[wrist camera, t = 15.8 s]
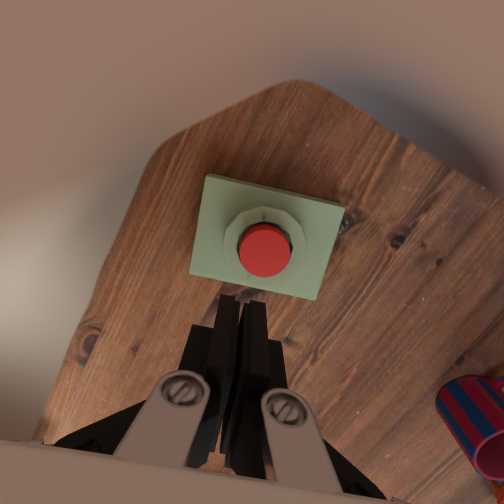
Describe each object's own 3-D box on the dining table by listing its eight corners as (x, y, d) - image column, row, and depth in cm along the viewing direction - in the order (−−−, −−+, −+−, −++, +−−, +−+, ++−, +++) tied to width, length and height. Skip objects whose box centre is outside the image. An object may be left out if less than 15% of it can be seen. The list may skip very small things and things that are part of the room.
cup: (422, 405, 37) (457, 461, 31) (491, 343, 34) (545, 391, 28) (464, 432, 38) (506, 491, 32) (534, 374, 35) (596, 427, 29)
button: (236, 263, 28) (234, 271, 26) (246, 219, 27) (245, 224, 25) (281, 273, 28) (283, 282, 27) (293, 229, 27) (296, 235, 25)
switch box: (192, 265, 32) (184, 282, 28) (209, 172, 29) (201, 178, 25) (312, 290, 33) (319, 310, 29) (339, 202, 30) (351, 212, 26)
